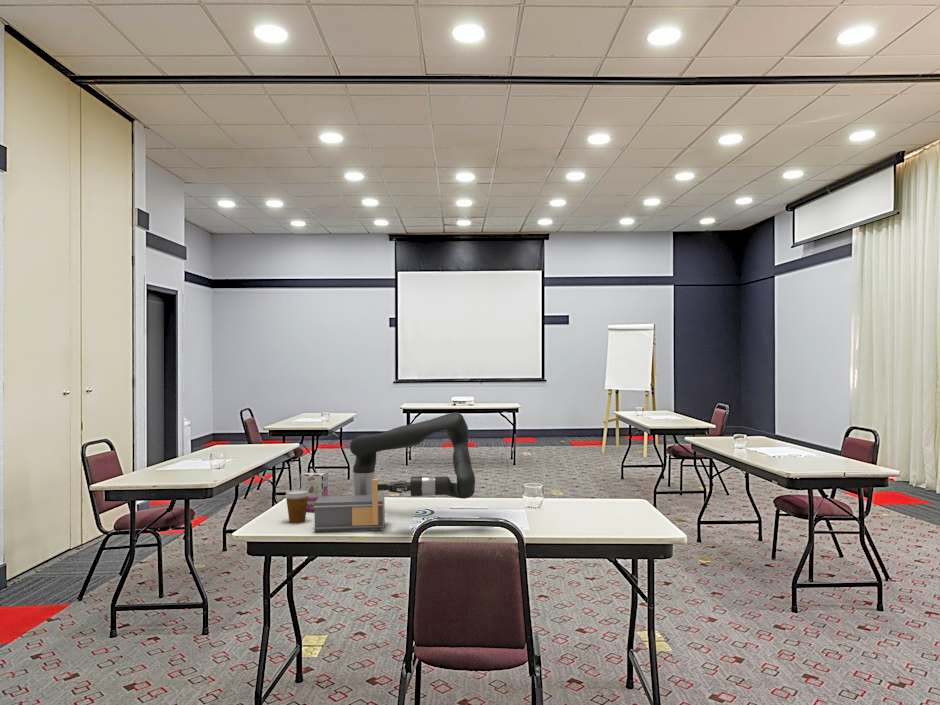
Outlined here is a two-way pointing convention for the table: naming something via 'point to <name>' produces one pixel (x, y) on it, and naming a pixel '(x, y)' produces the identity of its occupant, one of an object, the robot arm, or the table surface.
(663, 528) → the table surface
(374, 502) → the side door
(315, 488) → the candy bar box
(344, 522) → the case
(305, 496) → the disposable coffee cup
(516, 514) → the table surface
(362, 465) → the robot arm
